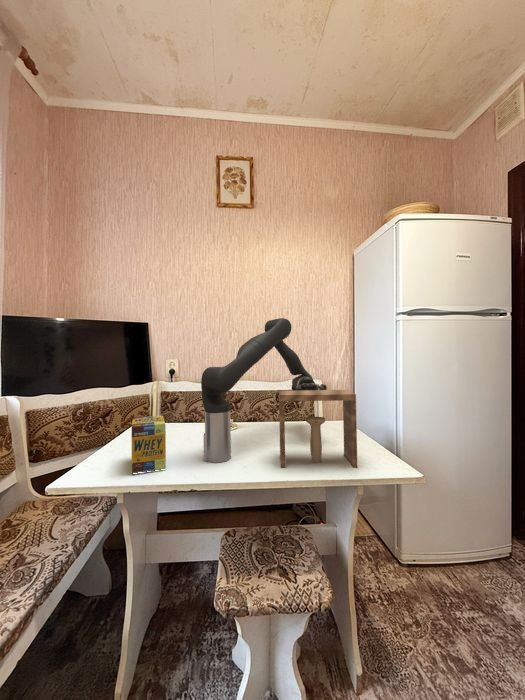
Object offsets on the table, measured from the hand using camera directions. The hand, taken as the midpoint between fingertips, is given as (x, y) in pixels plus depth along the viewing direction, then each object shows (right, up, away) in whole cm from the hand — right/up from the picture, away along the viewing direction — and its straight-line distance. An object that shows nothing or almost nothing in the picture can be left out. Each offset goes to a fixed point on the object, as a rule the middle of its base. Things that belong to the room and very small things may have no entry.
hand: (310, 390), depth 116 cm
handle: (0, -23, -13) cm, 26 cm away
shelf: (0, -23, -13) cm, 26 cm away
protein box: (-58, -24, -14) cm, 64 cm away
